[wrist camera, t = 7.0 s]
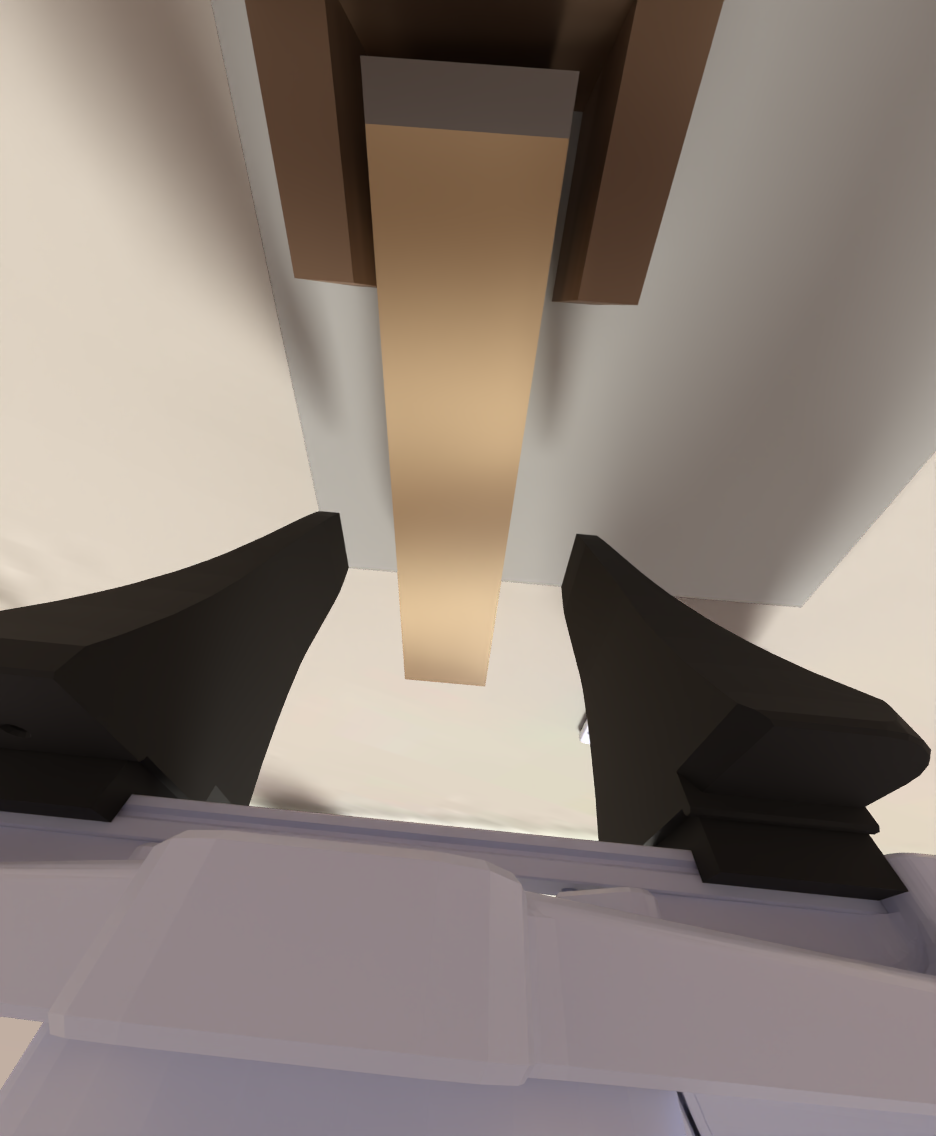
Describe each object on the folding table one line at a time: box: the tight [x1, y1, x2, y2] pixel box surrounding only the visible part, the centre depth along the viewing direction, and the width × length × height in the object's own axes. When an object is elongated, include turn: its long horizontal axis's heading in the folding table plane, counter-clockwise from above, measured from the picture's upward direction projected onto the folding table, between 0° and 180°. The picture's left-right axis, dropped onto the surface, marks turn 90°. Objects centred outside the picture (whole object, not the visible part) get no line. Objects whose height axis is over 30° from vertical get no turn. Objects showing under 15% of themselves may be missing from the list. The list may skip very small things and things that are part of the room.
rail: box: [360, 55, 580, 686], centre depth 11 cm, size 14×3×5 cm, turn 176°
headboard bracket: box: [245, 0, 724, 305], centre depth 6 cm, size 6×7×5 cm
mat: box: [211, 0, 936, 608], centre depth 11 cm, size 18×22×1 cm
